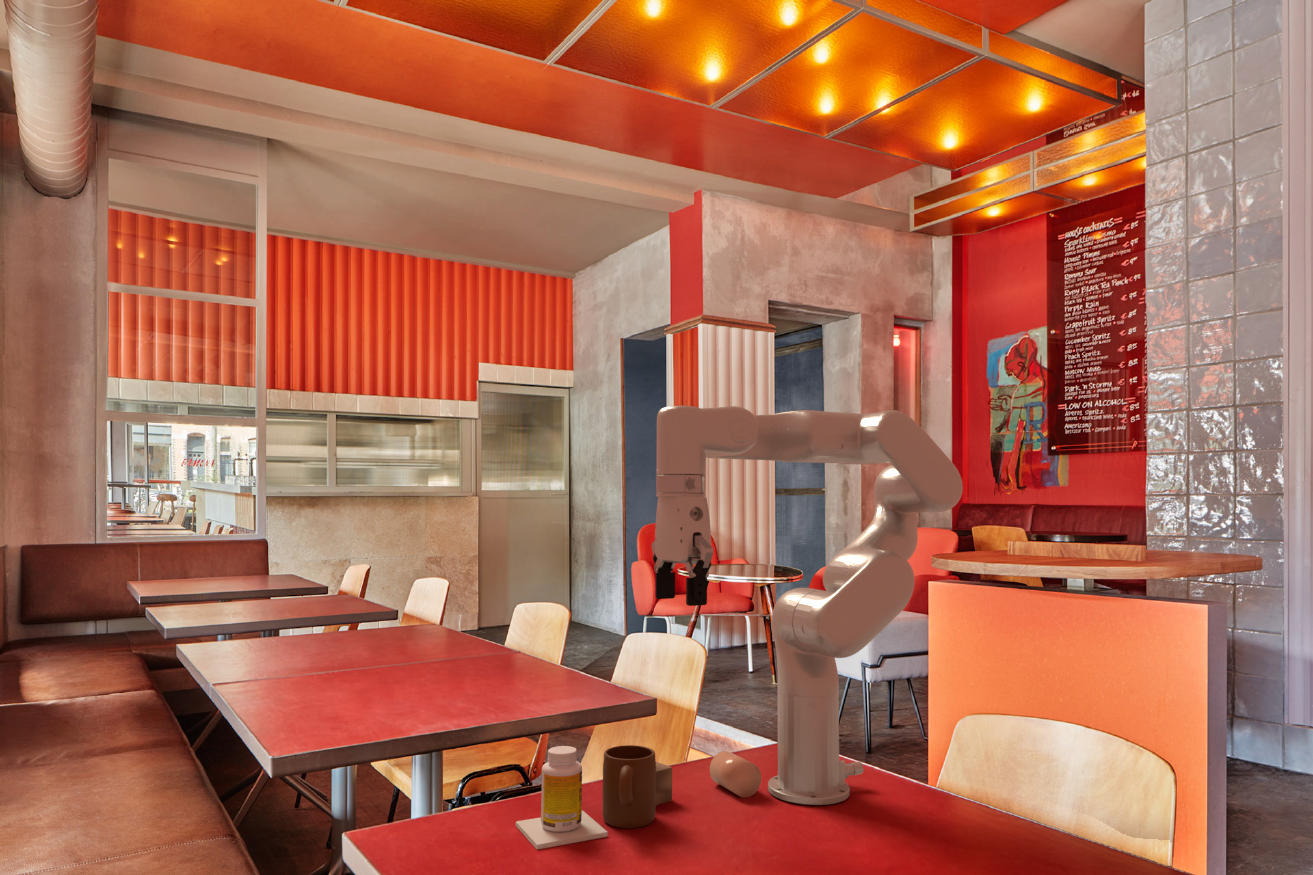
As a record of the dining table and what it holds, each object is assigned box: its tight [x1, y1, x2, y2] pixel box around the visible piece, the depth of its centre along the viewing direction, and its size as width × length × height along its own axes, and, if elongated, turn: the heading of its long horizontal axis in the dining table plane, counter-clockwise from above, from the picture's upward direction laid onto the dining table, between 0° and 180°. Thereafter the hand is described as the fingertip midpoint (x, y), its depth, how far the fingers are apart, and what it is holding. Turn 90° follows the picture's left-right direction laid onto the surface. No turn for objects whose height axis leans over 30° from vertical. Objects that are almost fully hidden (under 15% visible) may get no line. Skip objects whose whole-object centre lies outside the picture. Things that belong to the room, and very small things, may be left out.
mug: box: [602, 744, 657, 829], centre depth 119 cm, size 12×8×9 cm, turn 178°
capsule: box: [709, 750, 762, 799], centre depth 133 cm, size 5×7×5 cm
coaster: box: [515, 809, 608, 850], centre depth 116 cm, size 10×9×1 cm
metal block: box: [656, 761, 673, 806], centre depth 129 cm, size 5×5×5 cm
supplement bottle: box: [540, 745, 583, 832], centre depth 117 cm, size 6×6×10 cm
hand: (680, 601), depth 127 cm, fingers open, 9 cm apart
